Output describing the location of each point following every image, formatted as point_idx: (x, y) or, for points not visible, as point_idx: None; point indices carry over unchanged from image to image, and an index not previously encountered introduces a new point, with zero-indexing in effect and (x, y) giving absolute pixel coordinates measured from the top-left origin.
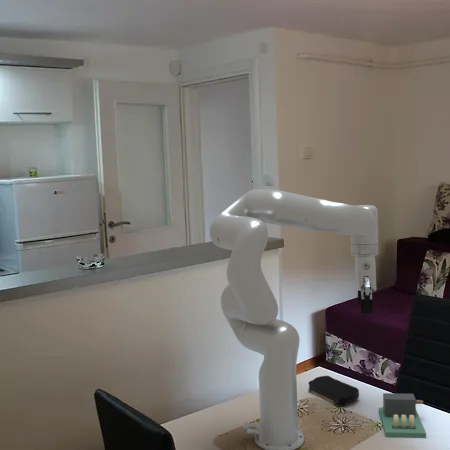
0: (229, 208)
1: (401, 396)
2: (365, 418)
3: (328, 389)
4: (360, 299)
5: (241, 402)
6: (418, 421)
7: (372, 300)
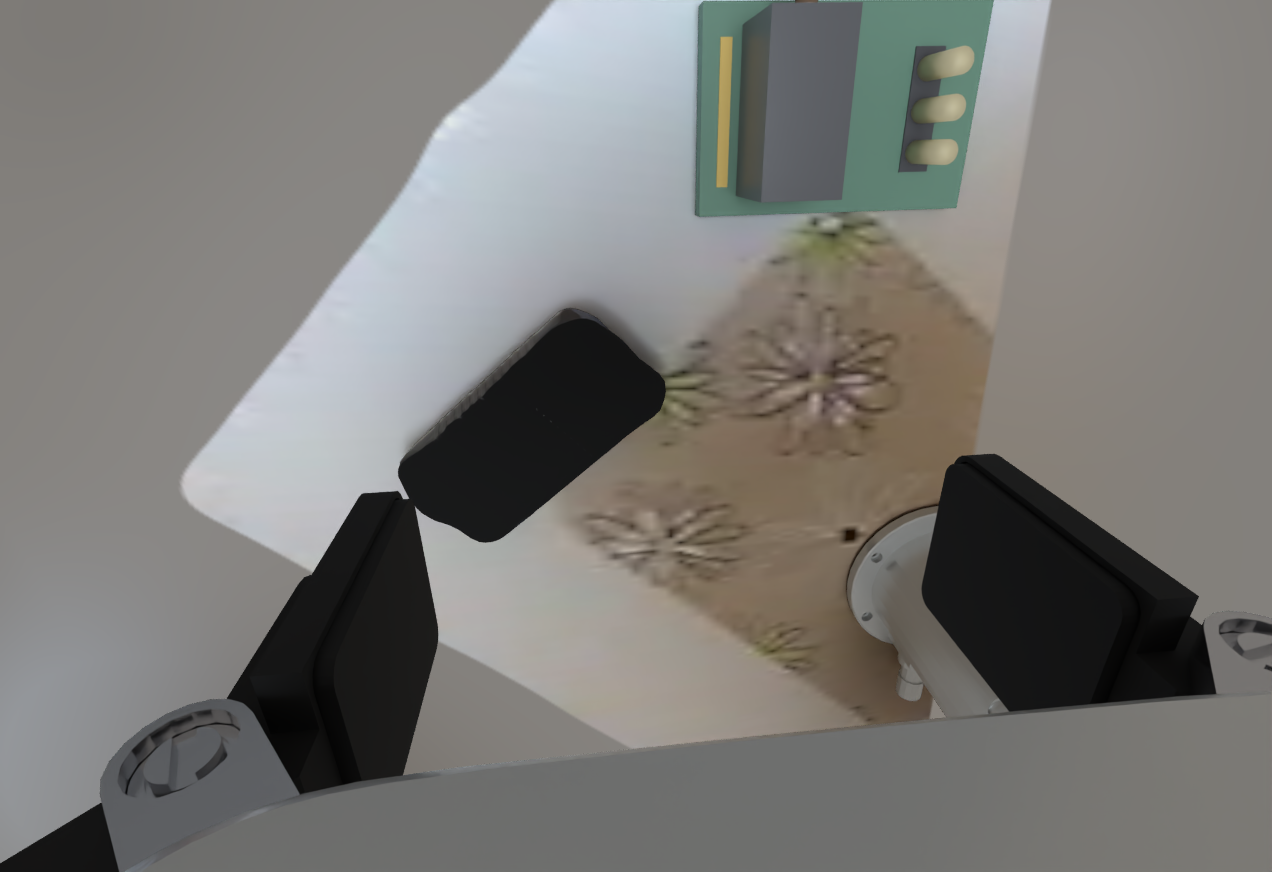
0: None
1: (809, 92)
2: (767, 282)
3: (565, 456)
4: (417, 669)
5: (633, 715)
6: (866, 16)
7: (1167, 577)
